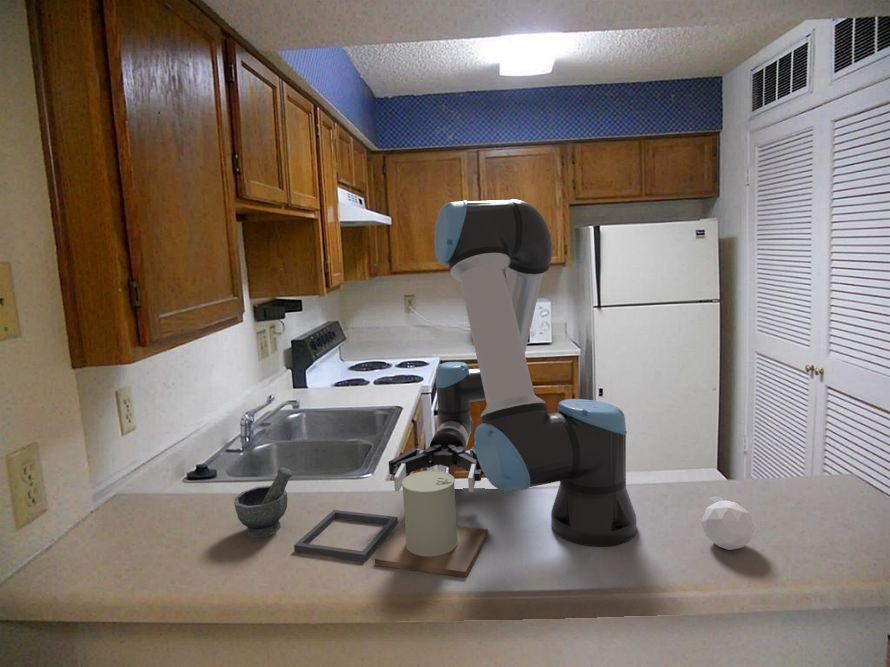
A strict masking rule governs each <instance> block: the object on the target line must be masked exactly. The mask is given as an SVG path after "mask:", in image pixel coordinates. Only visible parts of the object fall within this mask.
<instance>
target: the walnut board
mask: <svg viewBox="0 0 890 667" xmlns="http://www.w3.org/2000/svg"><path fill="white" fill-rule="evenodd" d="M456 528H457V537H458V544H457V546H456V548H455V549H454V550H452V551H451V552H449V553H447V554H444V555H441V556H435V557H423V556H418V555H415V554H413V553H411V552H409V551H408V550H407V548H406V528H405V522H403V524H402V525H401V526H400V527H399V529H397V531H396V532H395V533H394V535H392V537H391V539H390V540H389V541H387V543H386V544H385V545H384V547H383V548H382V549H381V550H380V552H379V553H378V554H377V555H376V556H375V558H374V559H373V561H374V565H375V566H376V565H377V566H382V567H389V568H398V569H403V570H411V571H418V572H424V573H431V574H438V575H445V576H453V577H459V578H467V577H468V575H469V572H470V570H471V569H472V567H473V565H474V563H475V561H476V559H477V557H478V555H479V553H480V551H481V549H482V547H483V545H484V543H485V542H486V540H487V537H488V536H489V530H488V529H487V528H486V529H485V528H478V527H470V526H461V525H456Z"/></svg>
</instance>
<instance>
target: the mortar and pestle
mask: <svg viewBox="0 0 890 667" xmlns="http://www.w3.org/2000/svg"><path fill="white" fill-rule="evenodd" d="M292 477H293V472H292V470H290V469H289V468H287V467H283V466H282V467H279V468H278V469H277V475H276V477H275V478H274V479H273V482H272V484H271V485H264V486H256V487H253V488H250V489H247V490H245V491H242V492H240V493H239V494H238V495H237V496H236V497H235V498H233V502H234V504H233V505H234V507H235V508H234V509H235V512H236V515H237V519H238V520H239V522H240V523H241V524H242V525H243V526H244V527H247V528H246V530H247V535H248V537H252V538H255V539H256V538H257V539H258V538H265V537H266V538H267V537H269V536H272V535H274V534H276V533H277V532H278V531H279V530H280V529H281V528H282V527H281V522H280V519H281V518H283V516H284V515H285V513H286V510H287V508H288V494H287V493H288V492H287V491H286V487H287V485H288V482H289V479H290V478H292Z"/></svg>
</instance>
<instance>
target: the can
mask: <svg viewBox="0 0 890 667" xmlns="http://www.w3.org/2000/svg"><path fill="white" fill-rule="evenodd" d="M455 482H456V481H455V477H454V476H453V475H452V474H450V473H449V472H446V471H443V470H422V471H417V472H412V473H411V474H409V475H406V477H405V478H404V479H403V481H402V486H401V488H402V497H403V499H402V500H403V508H404V509H403V511H404V512H403V513H404V523H405V528H406V548H407V550H408V551H409V552H411V553H413V554H415V555H418V556H423V557H435V556H441V555H444V554H447V553H449V552H451V551H452V550H454V549H455V548H456V546H457V544H458V537H457V528H456V526H457V514H456V496H455V494H456V493H455V492H456V491H455V490H456V488H455Z"/></svg>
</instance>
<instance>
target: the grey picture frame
mask: <svg viewBox="0 0 890 667" xmlns="http://www.w3.org/2000/svg"><path fill="white" fill-rule="evenodd" d="M336 519H338V520H339V519H340V520H346V521H347V520H349V521H355V522H356V521H357V522H366V523H374V524H382V525H384V526H383V527H382V528H381V530H380V531H378V533H377V534H376V535H375V536H374V537H373V538H372V540H370V542H369V543H368V544H367V545H366V546H365V548H364V549H363V550H356V549H349V548H342V547H337V546H336V547H334V546H328V545H320V544H319V545H318V544H314V543H311V542H313V540H315V538H317V537H318V535H320V534H321V533H322V532H323V531H324V530H325V529H326V528H327V527H328V526H329V525H330V524H331V523H333V522H334V521H335V520H336ZM398 523H399V518H398V516H392V515H382V514H373V513H366V512H365V513H364V512H356V511H347V510H339V509H333V510H332V511H331V512H329V513H328V514H327V515H326V516H324V518H323V519H322V520H320V521H319V522H318V523H317V524H316V525H315V526H314V527H312V528H311V529H310V530H309V531H308V532H306V534H305V535H304V536H302V537H301V538H300V539H299V540H298V541H297V542H296V543H295V544H293V548H294V549H293V550H294V552H297V553H301V554H302V553H304V554H310V555H317V556H325V557H330V558H331V557H332V558H338V559H346V560H352V561H353V560H354V561H358V562H359V561H360V562H366V561H367V560H368V559H369V558H370V557H371V556H372V555H373V553H374V552H375V551H376V550H377V548H378V547H379V546H380V545H381V544H382V543H383V542H384V540H385V539H386V538H387V537H388V536H389V534H391V532H392V531H393V530H394V528H396V526H397V525H398Z"/></svg>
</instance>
